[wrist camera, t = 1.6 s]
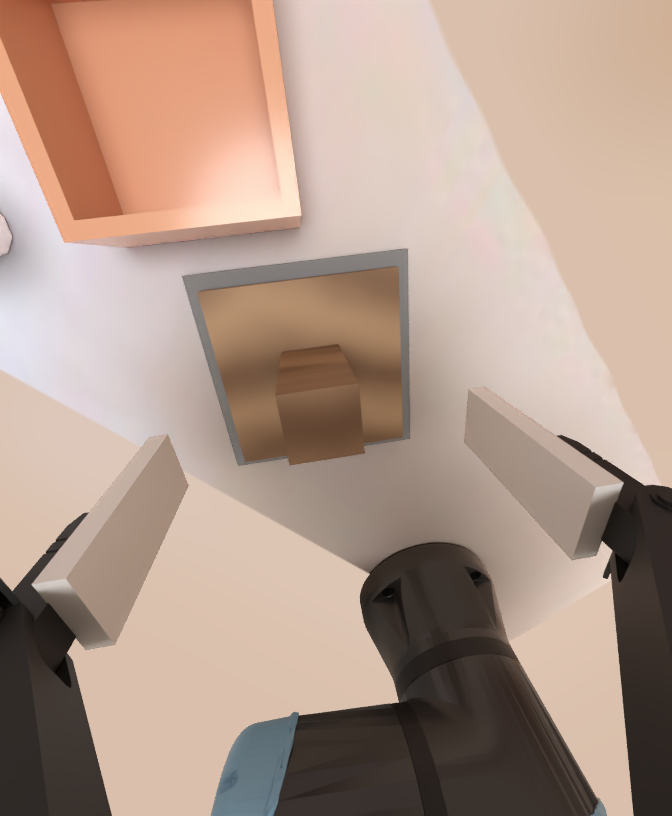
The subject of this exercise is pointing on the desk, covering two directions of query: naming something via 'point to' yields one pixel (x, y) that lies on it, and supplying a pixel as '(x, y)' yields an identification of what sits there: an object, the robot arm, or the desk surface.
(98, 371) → the desk surface
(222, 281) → the mat
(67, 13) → the open peach box
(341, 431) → the lid
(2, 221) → the milkshake
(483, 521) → the desk surface
